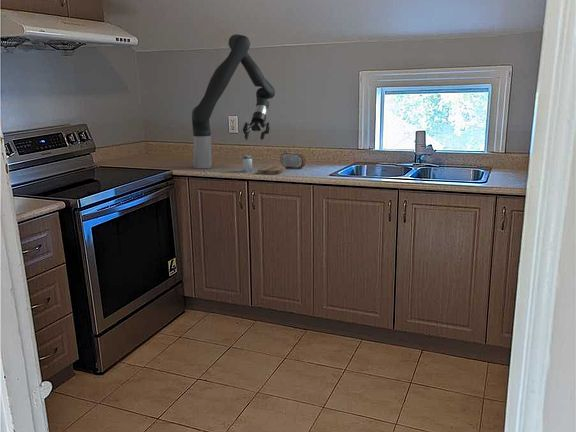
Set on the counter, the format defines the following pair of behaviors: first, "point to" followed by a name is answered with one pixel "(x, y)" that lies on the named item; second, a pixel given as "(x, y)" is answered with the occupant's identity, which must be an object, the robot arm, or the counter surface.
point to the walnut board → (271, 170)
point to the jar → (247, 163)
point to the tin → (293, 160)
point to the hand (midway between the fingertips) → (253, 138)
